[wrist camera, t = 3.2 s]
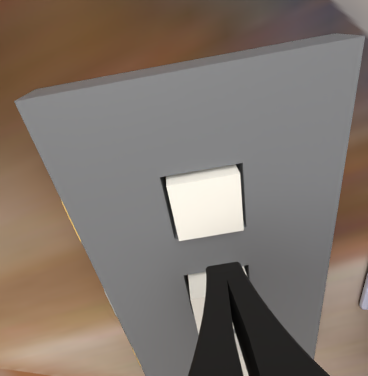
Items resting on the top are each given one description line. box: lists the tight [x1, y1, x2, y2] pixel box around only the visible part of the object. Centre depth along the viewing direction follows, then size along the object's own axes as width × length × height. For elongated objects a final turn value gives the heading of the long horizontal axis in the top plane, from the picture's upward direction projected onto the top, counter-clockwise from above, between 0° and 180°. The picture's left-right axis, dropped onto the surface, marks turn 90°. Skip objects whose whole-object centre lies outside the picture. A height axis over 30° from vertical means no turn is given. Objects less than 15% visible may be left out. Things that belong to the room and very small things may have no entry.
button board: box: [14, 33, 365, 376], centre depth 22 cm, size 16×31×2 cm, turn 9°
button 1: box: [166, 164, 244, 241], centre depth 17 cm, size 4×4×2 cm
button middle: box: [188, 266, 247, 334], centre depth 20 cm, size 4×4×2 cm
